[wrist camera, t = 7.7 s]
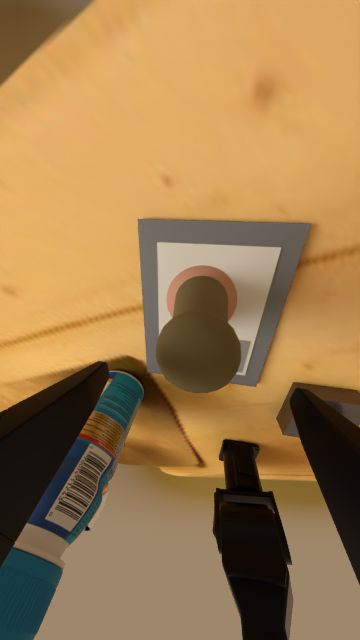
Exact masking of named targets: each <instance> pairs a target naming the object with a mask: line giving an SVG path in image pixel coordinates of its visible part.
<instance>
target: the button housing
mask: <svg viewBox="0 0 360 640" xmlns="http://www.w3.org/2000/svg"><path fill="white" fill-rule="evenodd" d="M297 387H300V388H306V389H308V390H310V391H311V392H312V393H314V394H315V395H316V396H318V397H319V398H320V399H322V400H323V401H325V402H326V403H327V404H329V405H330V406H331V407H333V408H334V409H335V410H337V411H338V412H339V413H341V414H342V415H343V416H345V417H346V418H347V419H349V420H352V421H354V422H355V423H356V424H357V425H358V426H359V425H360V393H359V392H358V391H357V390H349V389H341V388H334V387H326V386H318V385H310V384H303V383H295V382H293V384H292V386H291V388H290V391H289V393H288V395H287V397H286V399H285V401H284V403H283V405H282V408H281V410H280V412H279V414H278V416H277V418H276V419H277V421H278V424H279V426H280V429H281V431H282V433H283V435H287V436H293V437H299V434H298V430H297V427H296V424H295V421H294V417H293V414H292V411H291V408H290V404H289V400H290V398H291V395H292V393H293V391H294V389H295V388H297ZM299 438H300V437H299Z"/></svg>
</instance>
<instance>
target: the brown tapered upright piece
mask: <svg viewBox="0 0 360 640" xmlns="http://www.w3.org/2000/svg"><path fill="white" fill-rule="evenodd" d="M156 360H157V363H158V366H159V369H160V371H161V372H162V374H163V375H164V377H165V378H166V379H167V380H168V381H169V382H170V383H172V384H173V385H174V386H176V387H178V388H180V389H182V390H185V391H189V392H194V393H208V392H212V391H216V390H218V389H220V388H222V387H224V386H225V385H227V384H228V383H229V382H230V381H231V379H232V378H233V377H234V376H235V375H236V373H237V371H238V368H239V366H240V363H241V344H240V341H239V339H238V337H237V335H236V333H235V330H234V328H233V327H232V326H231V325H230V324H229V323H228V294H227V292H226V290H225V288H224V286H223V285H222V284H221V283H220V282H219V281H217V280H215V279H214V278H212V277H208V276H196V277H192V278H190V279H188V280H186V281H185V282H184V283H183V284H182V285H181V286H180V287H179V289H178V291H177V293H176V297H175V304H174V312H173V318H172V319H171V320H170V321H169V322H168V323H167V324H166V325H165V326H164V327H163V329H162V330H161V333H160V335H159V337H158V339H157V342H156Z"/></svg>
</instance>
